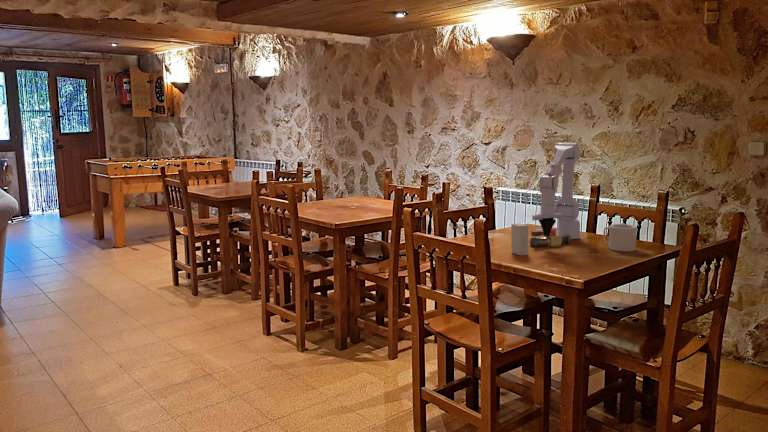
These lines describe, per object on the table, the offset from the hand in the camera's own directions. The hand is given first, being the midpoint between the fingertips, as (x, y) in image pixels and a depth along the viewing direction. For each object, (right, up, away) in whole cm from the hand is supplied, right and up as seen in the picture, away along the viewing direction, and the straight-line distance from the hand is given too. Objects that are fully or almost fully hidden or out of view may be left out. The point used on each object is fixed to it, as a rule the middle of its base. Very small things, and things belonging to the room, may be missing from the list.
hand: (546, 235), depth 258 cm
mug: (+30, -6, 0) cm, 31 cm away
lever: (0, 0, +4) cm, 4 cm away
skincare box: (-14, -7, -9) cm, 18 cm away
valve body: (+4, -4, +7) cm, 9 cm away
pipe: (+3, -4, +7) cm, 9 cm away
